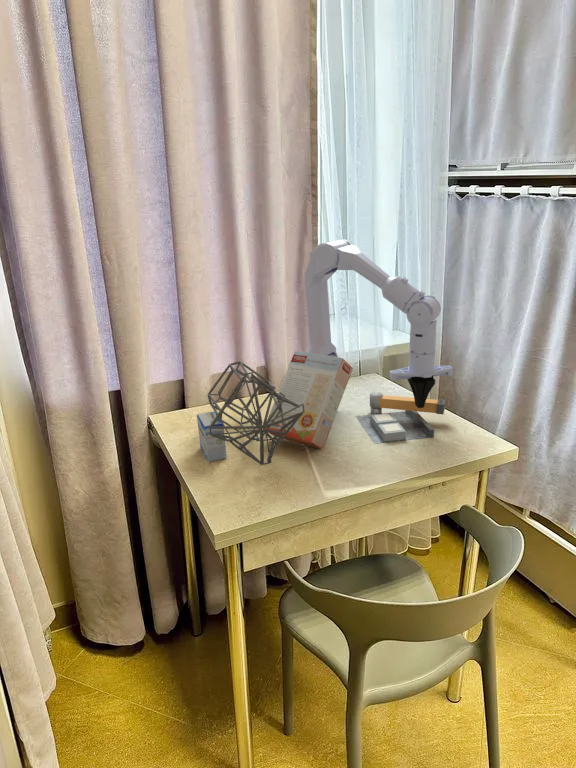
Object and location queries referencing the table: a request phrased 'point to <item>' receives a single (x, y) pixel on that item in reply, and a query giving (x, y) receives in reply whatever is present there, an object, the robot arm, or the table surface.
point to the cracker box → (312, 396)
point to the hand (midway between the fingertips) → (419, 406)
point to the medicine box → (210, 437)
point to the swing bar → (405, 403)
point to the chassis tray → (407, 419)
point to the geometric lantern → (258, 422)
